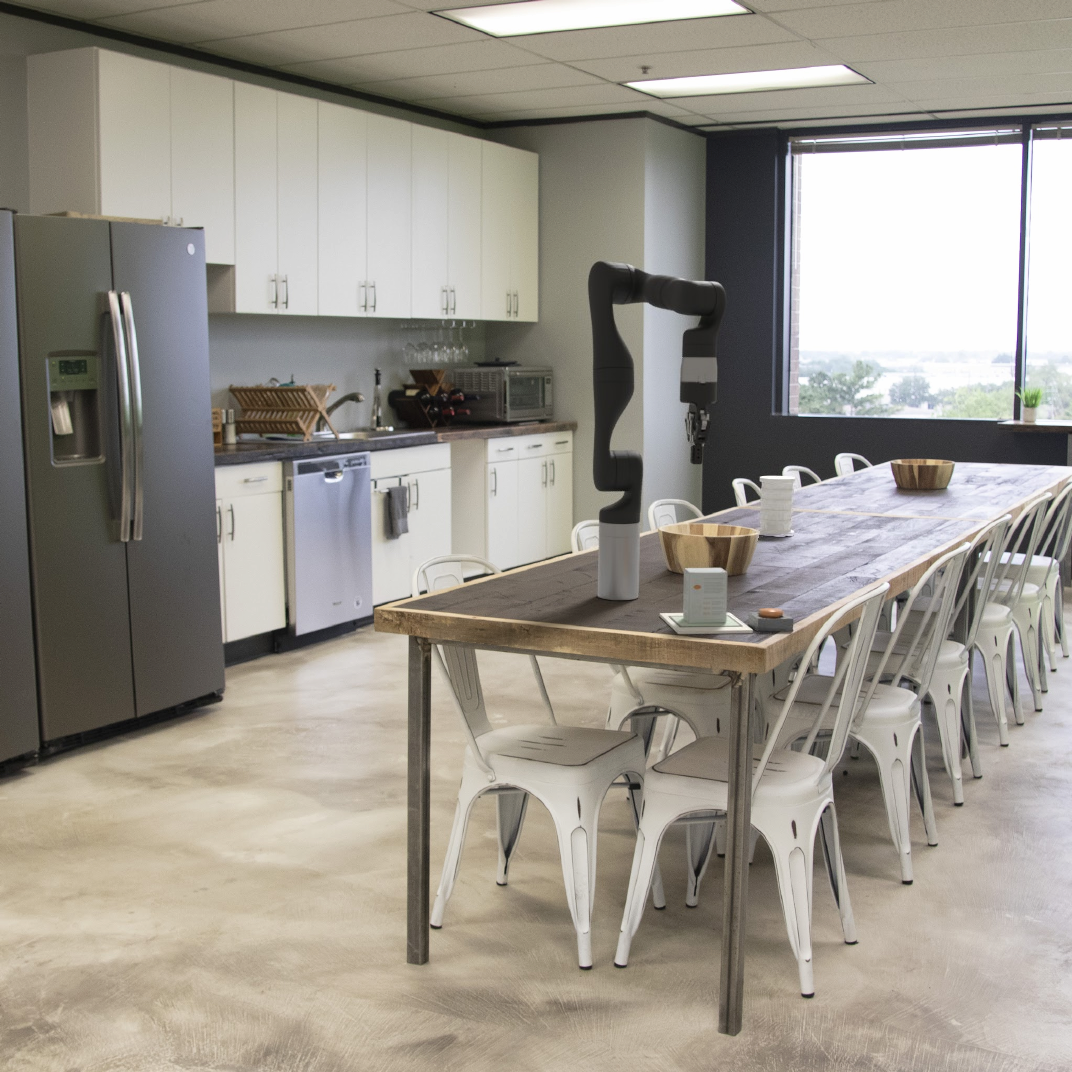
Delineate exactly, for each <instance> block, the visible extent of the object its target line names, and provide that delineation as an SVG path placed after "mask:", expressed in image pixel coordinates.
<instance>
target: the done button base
mask: <svg viewBox="0 0 1072 1072" xmlns="http://www.w3.org/2000/svg"><path fill="white" fill-rule="evenodd" d="M747 618H748V620H747V624H748V625H747V626H749V627H750V628H751V629H752V628H753V629H754V630H755V631H756V632H794V618H793V617H791V615H789V614H787V613H786V612H784V611H783V616H780V618H763V617H762V616H761V615H759V611H749V612H748V617H747Z"/></svg>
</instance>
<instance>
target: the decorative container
mask: <svg viewBox="0 0 1072 1072" xmlns="http://www.w3.org/2000/svg"><path fill="white" fill-rule="evenodd" d="M759 482H761V488H760V493H761V494H760V499H759V501H760V508H759V513H760V518H759V520H758V522H759V523H760V527H759V529H757V530H759V531H760V535H761V534H770V535H781V534H792V533H794V534H795V531H794V530H792V525H793V518H792V517H793V513H794V511H793V504H794V498H793V494H794V486H793V485H794V483H796V477H795V476H786V475H784V476H783V475H763V476H759Z"/></svg>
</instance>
